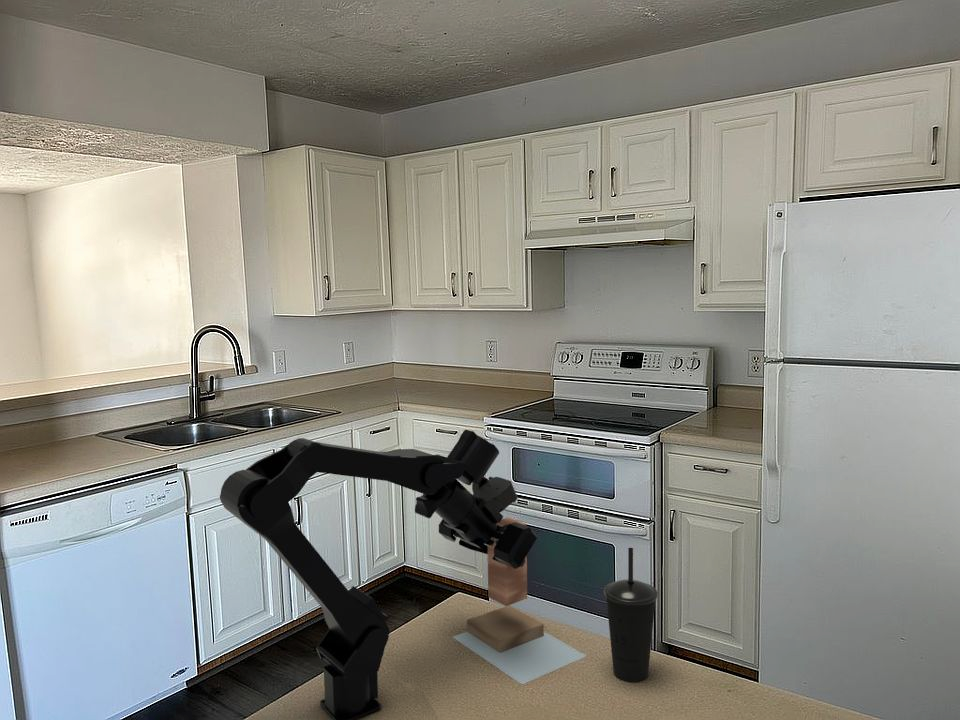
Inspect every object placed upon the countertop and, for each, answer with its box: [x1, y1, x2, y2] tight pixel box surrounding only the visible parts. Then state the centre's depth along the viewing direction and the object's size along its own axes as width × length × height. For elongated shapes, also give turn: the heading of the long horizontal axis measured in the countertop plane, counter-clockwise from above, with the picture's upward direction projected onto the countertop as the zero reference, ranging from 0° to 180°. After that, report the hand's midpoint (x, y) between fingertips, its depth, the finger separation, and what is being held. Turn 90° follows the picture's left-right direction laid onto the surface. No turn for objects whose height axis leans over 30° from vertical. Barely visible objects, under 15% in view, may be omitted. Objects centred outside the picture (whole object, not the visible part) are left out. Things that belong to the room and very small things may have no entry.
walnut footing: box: [466, 605, 545, 653], centre depth 119 cm, size 9×9×2 cm
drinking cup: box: [603, 547, 659, 684], centre depth 105 cm, size 8×8×20 cm
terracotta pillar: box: [487, 516, 528, 607], centre depth 117 cm, size 4×4×12 cm
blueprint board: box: [452, 631, 588, 685], centre depth 115 cm, size 13×18×1 cm
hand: (513, 559), depth 118 cm, fingers closed on terracotta pillar, 4 cm apart
